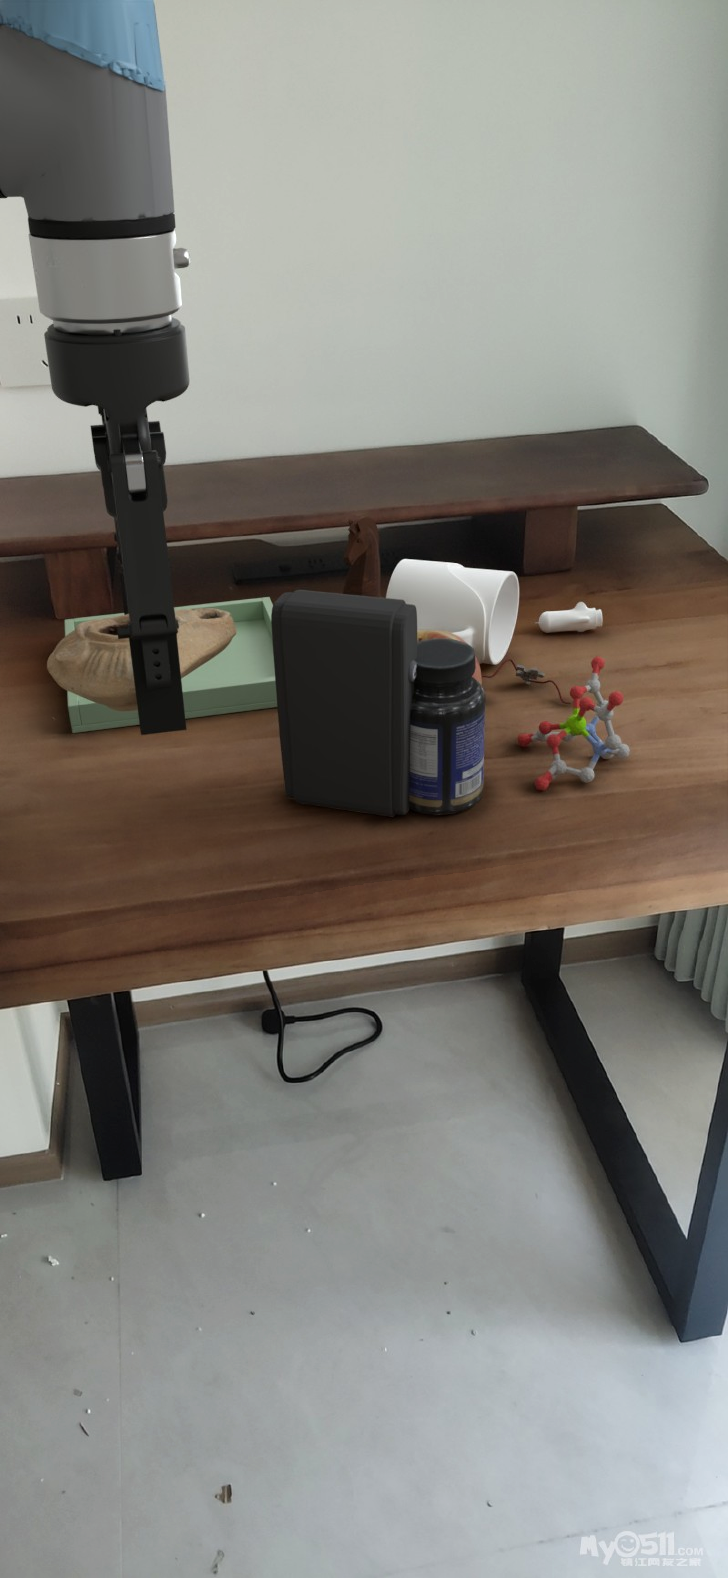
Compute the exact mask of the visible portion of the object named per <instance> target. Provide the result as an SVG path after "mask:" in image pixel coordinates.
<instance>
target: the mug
mask: <svg viewBox="0 0 728 1578" xmlns="http://www.w3.org/2000/svg"><path fill="white" fill-rule="evenodd" d="M385 598H390V599H400V600H404V601H405V602H406V604H412V605H415V606H416V610H417V630H440V631H446V632H450V633H453V634H455V635H457V636H458V637H460V638H461V639H463V640H464V641H465V642H466V643H467V644H468V645H470V646H471V647H472V648H473V649H474V651H475V656H476V658H477V660H478V663H479V665H480V664H481V665H482V664H488V665H492V666H493V665H499V664H500V663H501V662H502V660H503V659H504V658H505V656H506V654H507V652H508V650H509V647H510V645H511V642H512V638H513V636H514V632H515V629H516V623H517V619H518V614H519V613H518V612H519V605H520V583H519V579H518V575H517V574H516V573H515V572H514V571H510V570H499V569H498V570H497V569H486V568H476V567H475V568H473V567H465V566H463V565H462V564H460V563H455V562H447V561H446V562H445V561H435V560H423V559H409V558H403V559H401V560H399V562H397V564H396V566H395V568H394V570H393V571H392V574H391V577H390V579H389V583H388V586H387V590H386V594H385Z"/></svg>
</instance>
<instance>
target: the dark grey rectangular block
mask: <svg viewBox="0 0 728 1578" xmlns="http://www.w3.org/2000/svg"><path fill="white" fill-rule="evenodd" d="M272 604H273V607H272V614H271V626H272V641H273V655H274V668H275V682H276V695H277V707H276V709H277V720H278V733H279V744H280V745H279V746H280V753H281V765H282V775H283V784H284V792H285V796H286V797H287V798H289V799H292V800H295V802H296V803H298V804H303V805H308V806H309V805H310V806H317V807H322V808H330V809H335V810H336V809H337V810H343V811H349V812H355V813H364V814H371V815H377V816H382V817H383V816H384V817H391V818H394V817H395V816H396V815H400V816H405V815H407V814H408V812H409V810H410V805H409V787H410V709H411V702H412V698H413V695H414V688H415V682H414V680H415V678H416V665H417V663H416V661H415V660H416V658H417V610H416V606H415V605H412V604H406V602H405V601H404V600H400V599H390V598H386V597H382V598H380V597H369V596H359V595H349V594H343V593H339V592H326V591H315V590H306V589H296V590H294V591H293V592H290V591H289V592H283V593H282V594H281V595H279V597H278V598H277V599H276V600H275V601H274V602H273V603H272Z"/></svg>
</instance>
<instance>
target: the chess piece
mask: <svg viewBox="0 0 728 1578" xmlns="http://www.w3.org/2000/svg"><path fill="white" fill-rule="evenodd" d="M347 522H348V525H349V527H348V529H347V530H348V531H349V533H348V535H347V538H348V541H347V542H348V543H347V546H346V549H345V552H344V554H343V562H344V563H345V564H347V565H349V569H348V571H347V574H346V578H345V581H344V585H343V590H342V594H349V595H359V596H369V597H380V598H383V595H382V594H381V557H380V551H379V550H380V535H379V528H378V525H377V523H376V521H375V520H374V518H372V517H369V516H364V515H363V516H362V515H361V516H359V517H357V518H355V519H354V520H352V519H348V521H347Z"/></svg>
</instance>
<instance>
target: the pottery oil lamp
mask: <svg viewBox="0 0 728 1578" xmlns="http://www.w3.org/2000/svg"><path fill="white" fill-rule="evenodd" d="M175 618H176V620H178V624H179V629H178V633H177V642H178V652H179V662H180V672H181V679H182V678H183V677H185V676H186V675H188V674H189V673H191V672H192V671H194V670H195V669H197V668H198V667H200V666H201V665H203V664H204V663H206V662H208V661H209V660H211V659H212V658H214V657H215V656H216V655H218V654H219V653H220V652H222V651H223V650H224V649H225V648H226V647H227V646H228V645H229V644H230V642H231V640H232V638H233V637H234V636H235V635H236V627H235V625H234V622H233V618H232V616H231V614H230V613H229V612H227V611H223V610H219V609H213V608H199V609H181V610H175ZM129 621H130V620H129V614H126V615H121V616H118V617H111V618H102V619H95V620H90V621H86V622H83V623H80V624H78V625H77V626H76V627H75V630H73V631H72V632H70V633H69V634H68V635H66V636H65V635H64V637H63V638H62V639H61V640H60V641H59V642H58V643H57V645H56V646H55V648H54V650H53V651H52V652H51V653H50V655H49V657H48V659H47V662H46V669H47V671H48V673H49V675H50V676H51V677H52V679H53V680H54V681H55V682H56V684H57V685H58V686H59V687H61V688H62V689H63V690H65V691H66V692H67V691H70V692H72V693H74V694H76V695H79V696H81V697H83V698H86V699H88V700H90V701H93V702H95V703H99V704H103V705H105V706H107V707H108V708H111V709H113V710H117V711H134V710H138V707H137V699H136V691H135V683H134V675H133V667H132V659H131V651H130V643H129V638H125V639H118V632H117V628H118V627H128V625H127V623H129Z"/></svg>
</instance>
